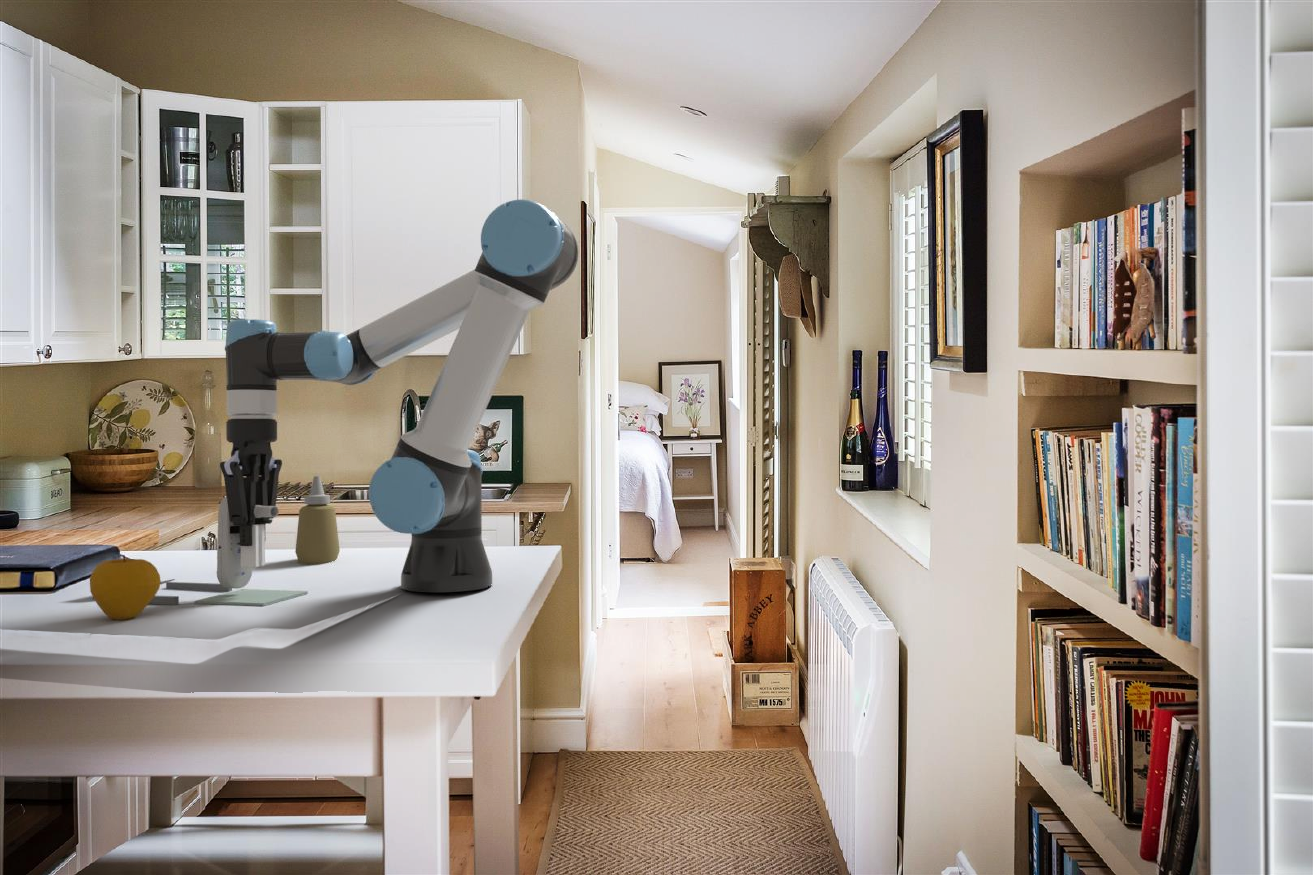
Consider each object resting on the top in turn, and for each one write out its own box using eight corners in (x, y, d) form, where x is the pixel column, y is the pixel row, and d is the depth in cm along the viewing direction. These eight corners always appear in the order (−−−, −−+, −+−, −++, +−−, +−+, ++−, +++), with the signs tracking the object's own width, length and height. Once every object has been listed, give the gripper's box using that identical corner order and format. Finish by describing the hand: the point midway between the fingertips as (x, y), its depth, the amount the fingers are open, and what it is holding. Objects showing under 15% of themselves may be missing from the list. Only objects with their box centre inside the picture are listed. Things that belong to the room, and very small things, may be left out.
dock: (252, 586, 174) (252, 562, 174) (175, 604, 156) (175, 578, 155) (166, 583, 178) (166, 560, 178) (81, 601, 159) (80, 575, 159)
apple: (174, 613, 148) (174, 552, 148) (129, 624, 139) (129, 559, 139) (121, 611, 150) (121, 550, 150) (74, 622, 142) (73, 558, 141)
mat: (307, 593, 166) (307, 591, 166) (263, 605, 154) (263, 603, 154) (242, 591, 169) (242, 588, 169) (194, 603, 157) (194, 600, 157)
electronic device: (259, 592, 156) (261, 494, 157) (213, 589, 160) (216, 494, 161) (285, 589, 161) (287, 494, 162) (240, 586, 165) (242, 494, 166)
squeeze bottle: (307, 567, 199) (307, 475, 199) (347, 567, 198) (346, 475, 198) (287, 572, 191) (286, 477, 191) (328, 573, 190) (327, 477, 190)
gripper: (257, 418, 169) (258, 559, 169) (202, 417, 155) (203, 571, 155) (297, 418, 167) (299, 560, 167) (245, 416, 154) (246, 572, 154)
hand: (253, 565), depth 161 cm, fingers closed on electronic device
